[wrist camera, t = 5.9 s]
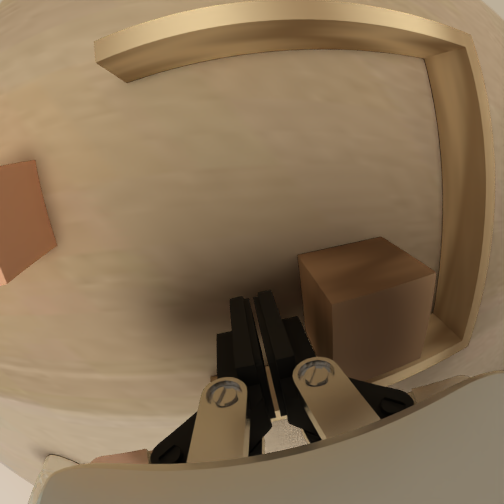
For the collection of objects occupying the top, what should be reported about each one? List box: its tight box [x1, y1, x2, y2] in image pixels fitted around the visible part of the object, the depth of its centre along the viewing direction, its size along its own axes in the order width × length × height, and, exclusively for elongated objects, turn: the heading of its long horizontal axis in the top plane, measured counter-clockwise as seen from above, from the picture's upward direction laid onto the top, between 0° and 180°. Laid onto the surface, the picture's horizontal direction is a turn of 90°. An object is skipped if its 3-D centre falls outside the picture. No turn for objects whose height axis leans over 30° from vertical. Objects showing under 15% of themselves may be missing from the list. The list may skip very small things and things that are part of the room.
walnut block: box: [297, 237, 436, 381], centre depth 10 cm, size 4×4×4 cm
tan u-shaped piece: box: [94, 0, 495, 422], centre depth 10 cm, size 14×16×3 cm
